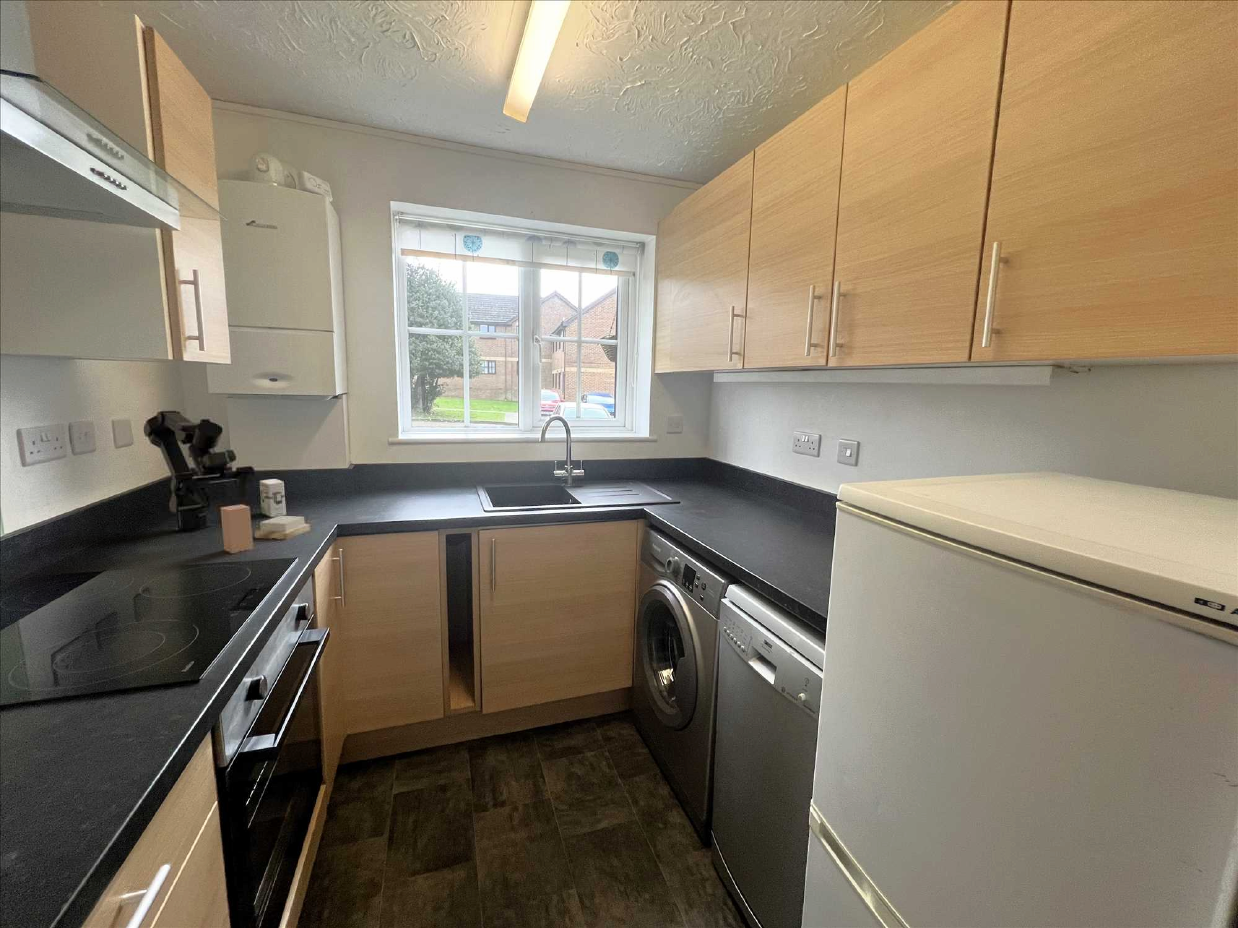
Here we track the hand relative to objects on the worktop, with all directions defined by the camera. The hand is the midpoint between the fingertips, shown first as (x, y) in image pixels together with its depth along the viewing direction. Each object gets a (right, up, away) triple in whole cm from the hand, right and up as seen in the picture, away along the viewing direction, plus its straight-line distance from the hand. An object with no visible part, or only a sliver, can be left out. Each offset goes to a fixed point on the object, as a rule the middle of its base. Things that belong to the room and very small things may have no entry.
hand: (225, 502), depth 143 cm
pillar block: (+5, -13, -1) cm, 14 cm away
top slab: (+7, -9, +14) cm, 18 cm away
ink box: (-11, -7, +36) cm, 38 cm away
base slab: (+7, -11, +14) cm, 19 cm away
